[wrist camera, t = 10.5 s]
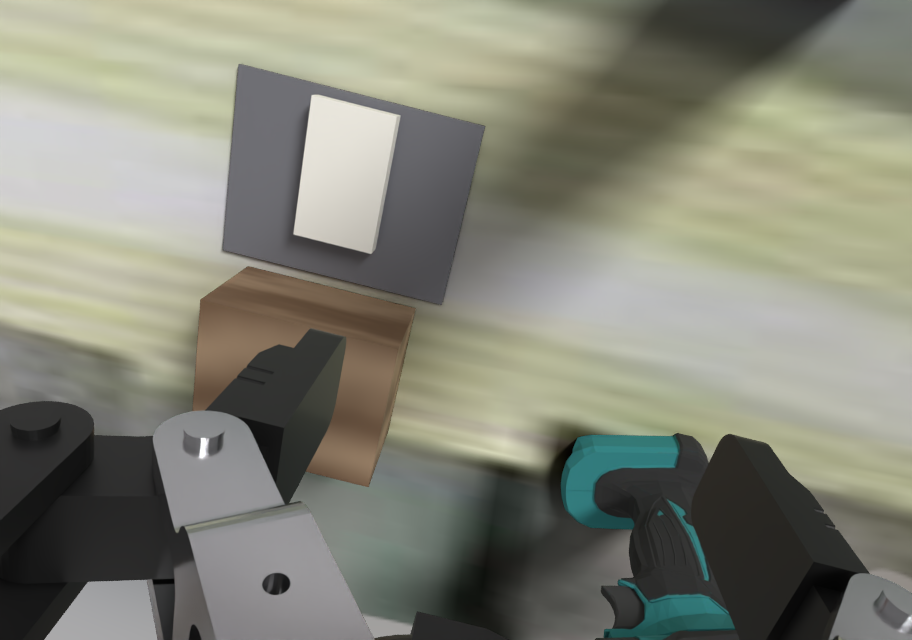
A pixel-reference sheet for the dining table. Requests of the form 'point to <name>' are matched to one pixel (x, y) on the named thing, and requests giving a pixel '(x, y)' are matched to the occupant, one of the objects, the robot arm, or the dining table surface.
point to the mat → (406, 202)
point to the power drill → (649, 533)
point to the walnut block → (285, 322)
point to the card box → (345, 173)
